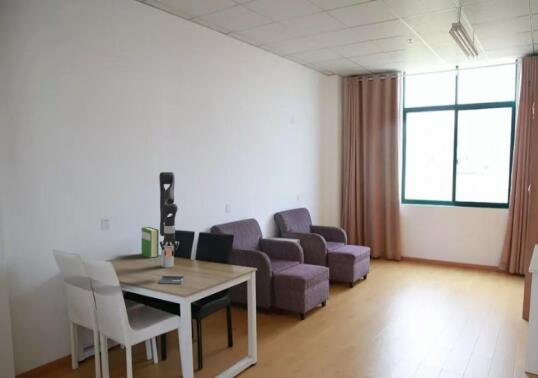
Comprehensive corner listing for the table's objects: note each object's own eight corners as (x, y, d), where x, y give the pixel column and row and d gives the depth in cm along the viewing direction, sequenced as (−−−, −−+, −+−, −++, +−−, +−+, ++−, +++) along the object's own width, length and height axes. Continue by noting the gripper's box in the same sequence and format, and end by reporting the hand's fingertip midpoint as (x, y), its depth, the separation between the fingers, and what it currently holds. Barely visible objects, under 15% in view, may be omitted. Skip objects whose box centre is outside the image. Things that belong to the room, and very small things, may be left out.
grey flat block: (162, 279, 273) (162, 275, 273) (184, 280, 273) (184, 276, 273) (159, 283, 265) (159, 279, 265) (181, 283, 265) (181, 279, 265)
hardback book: (158, 257, 340) (158, 229, 338) (150, 258, 335) (150, 230, 334) (149, 253, 353) (149, 226, 352) (141, 254, 348) (141, 227, 347)
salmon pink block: (167, 256, 280) (167, 246, 280) (172, 256, 280) (173, 246, 280) (165, 257, 276) (165, 247, 276) (171, 257, 277) (171, 247, 276)
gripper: (180, 231, 281) (180, 254, 282) (160, 230, 281) (160, 254, 282) (178, 233, 274) (178, 257, 275) (158, 232, 273) (157, 256, 275)
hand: (169, 255), depth 278 cm, fingers closed on salmon pink block, 4 cm apart
